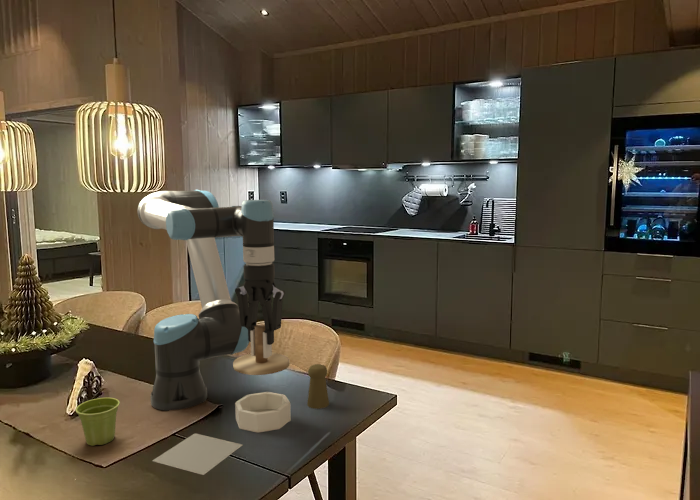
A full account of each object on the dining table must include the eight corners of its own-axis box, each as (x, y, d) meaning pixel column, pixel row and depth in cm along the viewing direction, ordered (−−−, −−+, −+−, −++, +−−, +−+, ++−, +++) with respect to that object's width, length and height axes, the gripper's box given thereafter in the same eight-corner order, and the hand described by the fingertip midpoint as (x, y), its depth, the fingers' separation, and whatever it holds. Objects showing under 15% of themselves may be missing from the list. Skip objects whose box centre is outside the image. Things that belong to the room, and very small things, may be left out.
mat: (152, 463, 118) (151, 460, 118) (194, 435, 131) (194, 433, 130) (203, 477, 112) (203, 474, 112) (243, 446, 125) (243, 444, 125)
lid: (221, 370, 132) (220, 330, 131) (254, 353, 145) (253, 316, 144) (270, 378, 127) (269, 337, 125) (299, 360, 139) (299, 322, 138)
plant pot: (93, 454, 122) (91, 417, 121) (69, 443, 127) (67, 408, 126) (130, 437, 130) (127, 402, 129) (106, 427, 135) (103, 394, 134)
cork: (326, 409, 145) (325, 370, 143) (304, 407, 146) (303, 368, 144) (331, 400, 150) (331, 362, 149) (310, 398, 152) (309, 361, 150)
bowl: (226, 427, 135) (225, 408, 134) (256, 407, 146) (255, 389, 146) (271, 437, 129) (270, 417, 129) (298, 415, 141) (297, 397, 140)
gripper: (222, 263, 132) (226, 355, 135) (278, 267, 126) (281, 364, 129) (240, 259, 139) (243, 347, 142) (295, 262, 132) (296, 355, 136)
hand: (261, 355), depth 135 cm, fingers closed on lid, 3 cm apart
